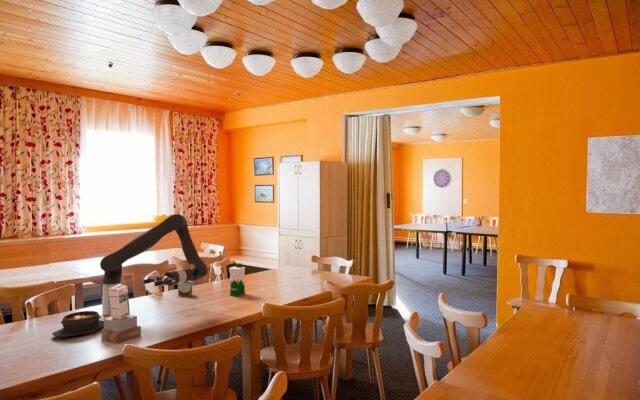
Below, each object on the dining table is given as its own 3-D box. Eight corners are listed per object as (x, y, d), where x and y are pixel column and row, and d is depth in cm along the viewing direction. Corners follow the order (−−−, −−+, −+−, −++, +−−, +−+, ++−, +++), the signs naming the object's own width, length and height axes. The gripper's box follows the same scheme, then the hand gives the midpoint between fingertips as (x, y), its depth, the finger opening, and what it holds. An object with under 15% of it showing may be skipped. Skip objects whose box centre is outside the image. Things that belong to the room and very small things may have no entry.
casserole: (66, 343, 190) (66, 325, 190) (43, 336, 199) (43, 319, 199) (116, 327, 212) (116, 310, 211) (94, 322, 221) (93, 306, 220)
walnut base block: (101, 340, 194) (101, 329, 194) (125, 332, 204) (125, 322, 204) (117, 345, 188) (116, 333, 188) (140, 336, 198) (140, 326, 198)
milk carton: (246, 293, 279) (246, 263, 279) (239, 296, 271) (238, 265, 270) (235, 292, 283) (235, 262, 282) (227, 295, 274) (227, 265, 274)
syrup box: (120, 319, 192) (117, 289, 190) (110, 317, 194) (108, 287, 192) (130, 314, 197) (127, 285, 195) (120, 313, 199) (118, 283, 197)
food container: (197, 294, 278) (197, 279, 277) (191, 297, 272) (191, 281, 272) (183, 293, 283) (183, 278, 282) (176, 295, 277) (176, 280, 277)
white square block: (103, 329, 194) (103, 318, 194) (123, 323, 203) (123, 313, 202) (117, 332, 189) (117, 321, 189) (137, 326, 198) (136, 316, 198)
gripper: (166, 269, 227) (140, 274, 213) (184, 271, 220) (158, 276, 206) (166, 282, 227) (140, 288, 213) (184, 285, 220) (158, 292, 206)
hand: (149, 282), depth 210 cm, fingers open, 8 cm apart
